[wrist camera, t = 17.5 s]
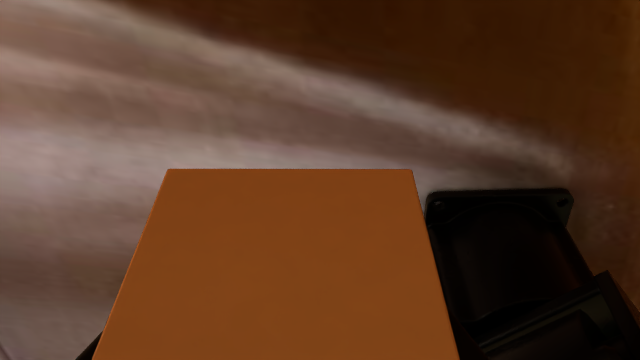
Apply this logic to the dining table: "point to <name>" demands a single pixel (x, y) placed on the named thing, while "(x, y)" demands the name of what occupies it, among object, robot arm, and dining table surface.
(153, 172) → the dining table surface
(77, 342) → the dining table surface
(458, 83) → the dining table surface
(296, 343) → the block
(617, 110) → the dining table surface
